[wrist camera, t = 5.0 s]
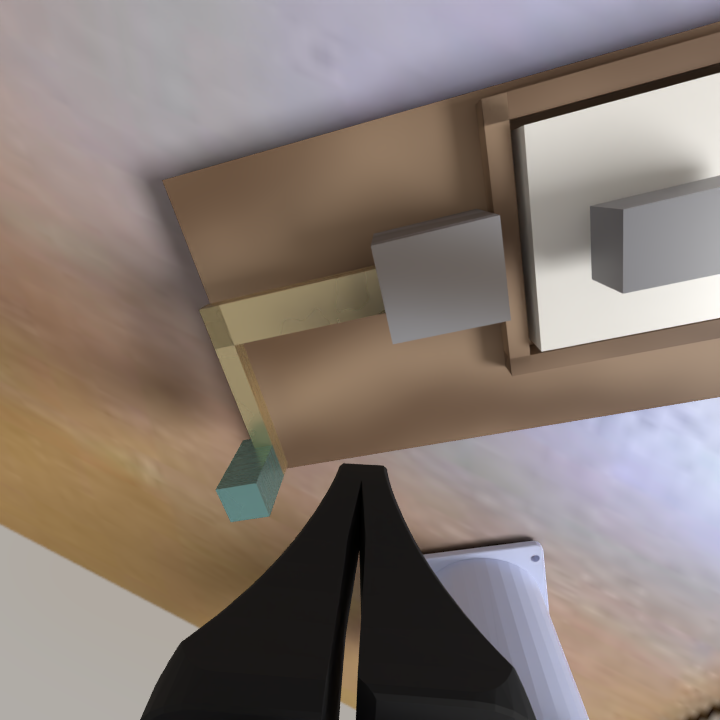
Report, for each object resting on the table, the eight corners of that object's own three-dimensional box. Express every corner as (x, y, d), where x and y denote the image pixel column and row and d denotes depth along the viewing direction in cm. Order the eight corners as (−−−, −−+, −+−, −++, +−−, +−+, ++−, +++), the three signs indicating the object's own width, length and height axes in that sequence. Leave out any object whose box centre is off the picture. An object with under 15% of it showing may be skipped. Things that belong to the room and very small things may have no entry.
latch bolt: (470, 433, 17) (487, 483, 14) (254, 469, 19) (230, 522, 16) (440, 249, 14) (454, 266, 12) (188, 308, 16) (144, 336, 13)
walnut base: (759, 370, 19) (878, 429, 14) (281, 452, 22) (255, 521, 18) (812, 1, 14) (1025, -90, 9) (179, 180, 17) (105, 179, 13)
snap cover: (736, 297, 16) (855, 336, 12) (529, 338, 17) (573, 386, 13) (762, 63, 13) (931, 9, 9) (511, 130, 14) (560, 109, 10)
